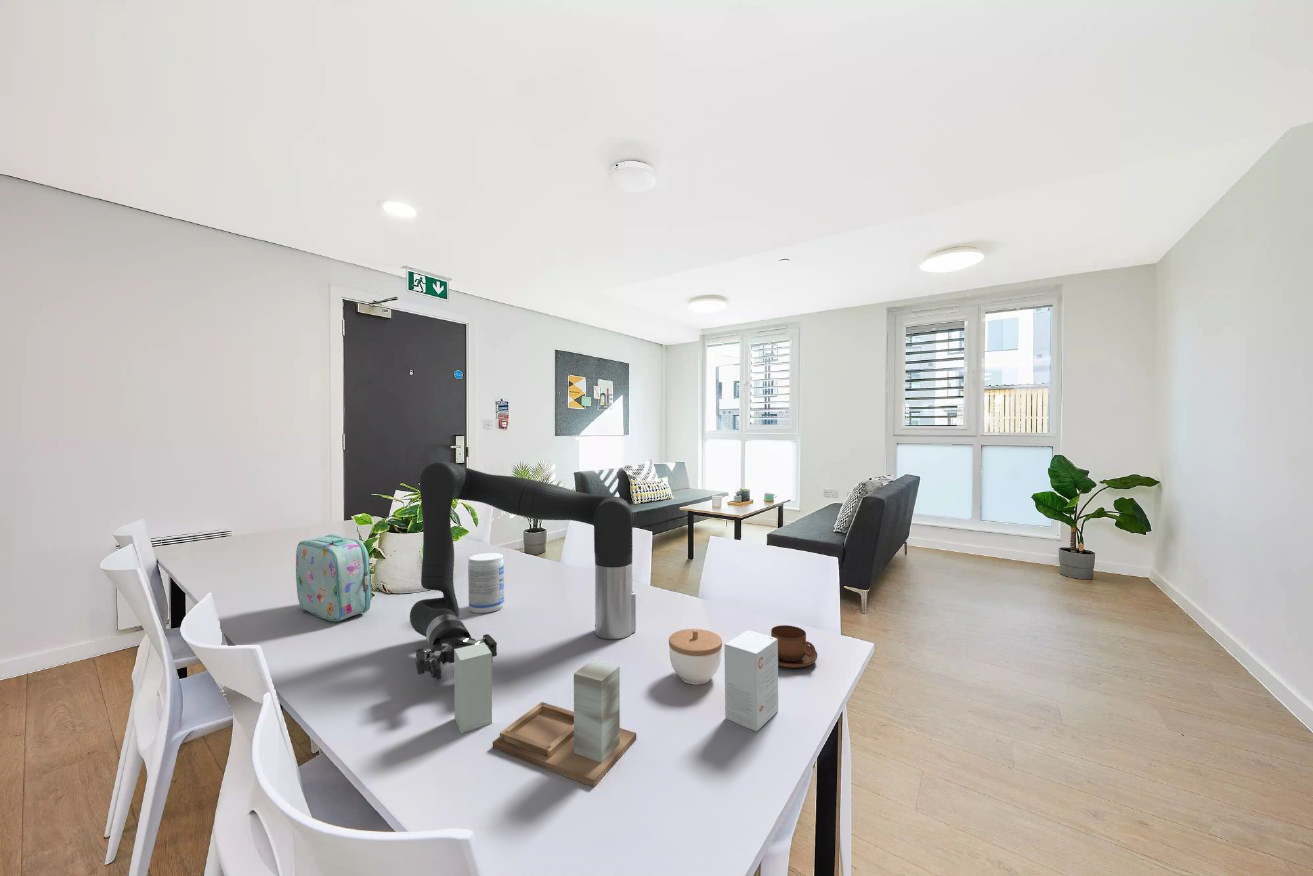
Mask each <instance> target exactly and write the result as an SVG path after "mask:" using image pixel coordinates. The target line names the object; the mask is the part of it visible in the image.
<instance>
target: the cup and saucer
mask: <svg viewBox="0 0 1313 876" xmlns="http://www.w3.org/2000/svg"><path fill="white" fill-rule="evenodd" d="M770 636H771V637H774V638H777V639H778V667H779V666H780V667H784V668H790V669H792V668H793V669H796V668H797V669H799V668H806V667H808V666H811V665H813V664H814V663H815V662H816V661H817V660H818V652H817V650H816V647H815V645H814V644H813V643H812V642H810V641H807V633H806V631H805V630H804V629H802V628H801V627H798V626H794V625H787V624H786V625H783V624H781V625H776V626H774V627H772V628H771V630H770Z"/></svg>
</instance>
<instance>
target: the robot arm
mask: <svg viewBox="0 0 1313 876" xmlns="http://www.w3.org/2000/svg"><path fill="white" fill-rule="evenodd" d="M418 482H419V494H420V501H421V502H420V503H421V512H422V528H423V529H422V531H423V535H422V537H423V538H422V539H423V541H422V542H423V543H422V544H423V545H422V559H421V560H422V561H421V578H420V584H421V585H420V586H421V587H422V588H423V589H425V590H430V591H436V592H437V591H439V592H441V593H442V597H434V598H425V599H421V600H418V601H416V602H415V603H414V604H413V606H412V607H411V609H410V612H409V622H410V625H411V627H412V629H413V630H414V631H415V632H416V633H418V634H419V635H421V636H423V637H425V638H426V642H427V646H428V648H429V650H428V651H426V650H424V649H423V648H418V649H416V650H415V667H416V673H417V675H423V674H425V672H428V674H430V676H431V678H432V679H435V680H436V681H438V680H442V669H444V668H445V667H446V665H449V664H454V649H458V648H462V647H466V646H471V645H475V644H480V643H485V644H486V646H487V647H488V648H489V650H490V651H491V653H492V663H494V662H493V659H494V658H493V657H496V656H498V652H497V651H498V647H497V645H498V643H497V641H496V640H495V639H494V638H493V637H492V636H491V635H490V634H488V633H487V634H483V635H482V639H477V640H476V638H474V637H473V638H472V636H471V634H470V631H468V628H467V627H466V626H465V625H464V622H463V621H462V620H461V619H460V618H459V617H460V608H459V604H458V603H459V602H458V600H457V597H456V592H455V586H454V585H455V584H454V571H455V570H454V569H455V546H454V545H455V544H454V539H453V534H452V533H453V532H452V527H451V511H452V506H453V501H454V500H460V501H461V500H464V501H471V502H478V503H483V504H486V505H489V506H491V507H493V508H495V509H498V510H500V511H503V512H506V513H509V514H511V515H515V516H519V517H524V518H529V519H532V520H533V519H534V520H542V521H543V520H544V521H573V522H579V523H584V524H587V525H592V526H593V542H594V544H593V547H594V548H593V549H594V551H593V552H594V602H595V603H594V609H595V610H594V611H595V612H594V622H595V623H594V633H595V635H596V636H597V637H599V638H601V639H605V640H619V639H623V638H627V637H629V636H631V635H632V634H633V633H636V631H637V618H636V617H637V612H636V611H637V610H636V609H637V604H636V603H637V601H636V600H637V599H636V598H637V594H636V592H634V591H633V551H634V549H633V511H632V508H631V506H630V504H629V503H628V502H627V500H625V499H623V498H622V497H619V496H612V495H601V494H591V493H586V492H580V491H579V492H578V491H576V490H572V489H570V488H566V487H563V486H560V485H555V484H552V483H549V482H548V483H547V482H543V481H539V480H536V479H531V478H530V479H529V478H524V477H518V476H508V475H499V474H498V475H497V474H491V473H485V472H482V471H479V470H476V469H472V468H469V467H467V466H463V465H460V464H458V463H454V462H451V461H450V462H449V461H437V462H432V463H430V464H428V465H427V466H425V468H423V469H422V471H421V473H420V475H419V481H418Z"/></svg>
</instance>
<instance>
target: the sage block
mask: <svg viewBox="0 0 1313 876" xmlns="http://www.w3.org/2000/svg"><path fill="white" fill-rule="evenodd" d="M453 664H454V667H453V668H454V671H453V673H454V720H455V723H456V725H457V728H458V730H459V732H460V734H464V733H466V732H471V731H473V730H476V729H478V728H482V727H485V726H489V725H491V724H492V723H493V692H492V691H493V685H492V683H493V680H492V679H493V671H492V670H493V667H492V666H493V662H492V653H491V651H490V650H489V648H488V647H487V646H486V644H485V643H480V644H475V645H471V646H466V647H462V648H458V649H454V663H453Z"/></svg>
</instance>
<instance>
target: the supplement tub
mask: <svg viewBox="0 0 1313 876" xmlns="http://www.w3.org/2000/svg"><path fill="white" fill-rule="evenodd" d="M504 563H505V562H504V555H503V554H502V553H498V552H484V553H478V554H474V555H471V556H469V557H468V563H467V564H468V565H467V569H468V571H467V572H468V573H467V574H468V575H467V576H468V577H467V578H468V579H467V580H468V581H467V582H468V609H469V611H470V612H473V613H476V614H486V613H492V612H495V611H496V612H497V611H498V610H501V609H502V608H503V607H504V605H505V570H504V569H505V566H504V565H505V564H504Z"/></svg>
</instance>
